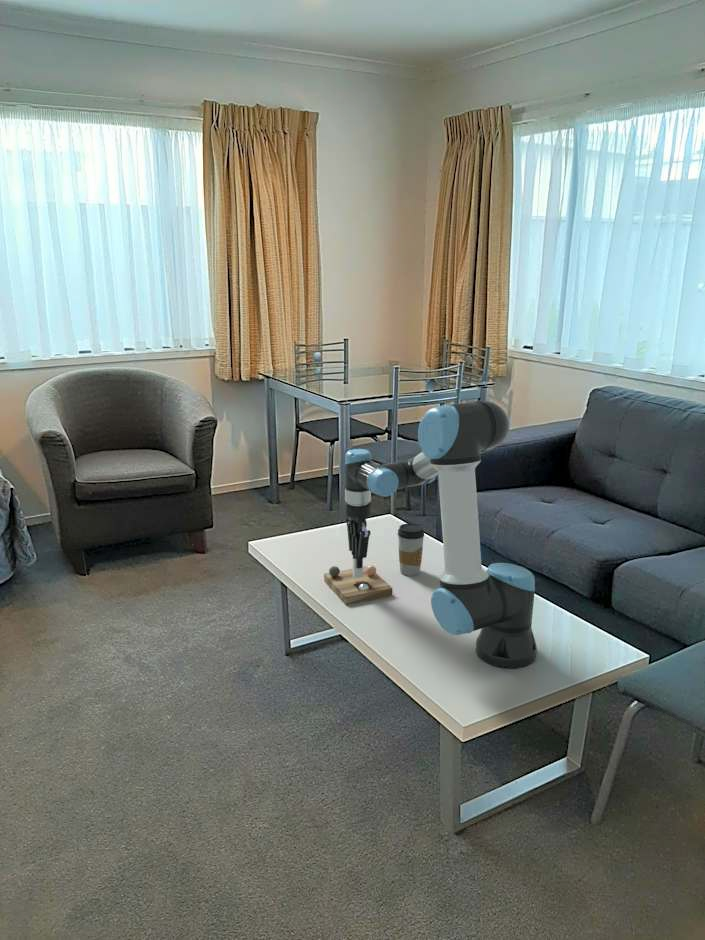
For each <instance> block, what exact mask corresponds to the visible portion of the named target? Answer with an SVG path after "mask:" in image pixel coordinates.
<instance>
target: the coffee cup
mask: <svg viewBox="0 0 705 940" xmlns="http://www.w3.org/2000/svg"><path fill="white" fill-rule="evenodd" d="M397 536H398V537H397V538H398V561H399V571H400V574H402V575H404V576H407V577H410V576H411V577H412V576H413V577H414V576H417V575H418V574H420V573H421V567H422V565H421V564H422V556H423V549H424V548H423V545H424V536H425V530H424V527H423V526H422V525H421V524H418V523H413V522H412V523H410V522H407V523H404V524H400V526H399V529H397Z"/></svg>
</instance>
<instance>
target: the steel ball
mask: <svg viewBox="0 0 705 940" xmlns="http://www.w3.org/2000/svg"><path fill="white" fill-rule="evenodd" d="M365 589H369V586H368V585H367V584H361V585H359V587H358V590H365Z"/></svg>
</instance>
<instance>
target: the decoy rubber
mask: <svg viewBox="0 0 705 940" xmlns="http://www.w3.org/2000/svg"><path fill="white" fill-rule="evenodd" d="M340 571H341V570H340V568H339V567H338V566H336V565H335V566H331V567H330V568H329V569H328V573H330V575H331V576H333V577H336V576H338V575H339V573H340Z"/></svg>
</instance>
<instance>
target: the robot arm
mask: <svg viewBox="0 0 705 940" xmlns="http://www.w3.org/2000/svg"><path fill="white" fill-rule="evenodd" d="M417 430H418V431H417V441H418V445H419V448H420V449H421V452H420V453H418V454H417V455H415V456H413V457H412V458H410V459H407V460H402V461H396V462H390V463H383V464H377V463H375V462H373V458H372V453H371V451H370V450H368V449H363V448H354V449H350V450H348V451H346V453H345V463H344V482H345V483H344V486H345V487H344V501H345V504H344V514H345V516H347V517H348V518H346V519H345V522H346V527H347V538H348V539H347V540H348V541H347V542H348V549H349V551H350V552H351V556H352V569H353V577H354V578H359V577H363V567H364V559H366V558H367V555H368V550H369V549H368V547H369V539H370V536H371V530H370V529H369V530H368V529H367V525H368V524H367V518H368V517H370V516H371V514H372V504H371V501H372V497H371V496H372V494H375V495H377V496H380V497H385V498H386V497H390V496H392V495H393V494H394V493H395V492H397V490H401V489H405V488H410V487H416V486H425V485H426V484H430V483H433V482H434V481H435V480H436V477H438V478H437V479H438V490H439V491H438V492H439V506H440V518H441V529H442V530H441V532H442V542H443V556H444V557H443V558H444V559H443V560H444V571H442V573H440V575H439V587H437V588H436V589H435V590H433V593H432V594H431V597H430V606H431V610H432V613H433V615H434V618H435V619H436V622H437V623H438V624H439V626H440V627H441V628H442V629H443V630H444V631H446V633H448V634H451V635H452V636H453V635H454V636H461V635H465V634H471V633H473V632H476V631H478V630H480V632H479V634H478V636H477V638H476V641H475V653H476V655H477V656H478V658H479V659H481V660H482V661H483V660H484V662H485V663H487V664H489V663H490V664H489V665H492V664H493V665H492V666H494V665H496V666H495V667H498V666H500V667H499V668H504V667H507V668H506V669H517V668H516V667H520V668H524V667H526V666H529V664H530V665H531V664H533V663H534V662H535V661H536V658H537V653H538V652H537V651H538V650H537V649H538V647H537V643H536V639H535V635H534V632H533V628H532V624H533V613H534V612H533V611H534V600H535V591H536V588H535V583H536V582H535V581H536V579H535V578H536V577H535V575H534V573H533V572H531V571H530V570H528V569H527V568H525V567H523V566H520V565H517V564H512V563H509V562H508V563H506V562H496V563H495V562H494V563H491V564H489V565H488V567H487V570H485V569H483V567H482V553H481V541H480V540H481V539H480V538H481V537H480V524H479V523H480V522H479V511H478V509H479V508H478V507H479V506H478V496H477V494H478V493H477V480H476V467H477V466H478V465H479V464H480V463H481V461H482V457H481V456H482V455H481V454H482V453H483V454H484V453H487V452H488V451H490V450H492V449H494V448H496V447H498V446H500V445H501V444H503V442H505V440H506V438H507V437H508V434H509V430H510V421H509V417H508V415H507V412H506V411H505V410H504V408H502V407H501V406H499V405H498V404H497V403H495V402H493V401H489V400H478V401H477V400H476V401H469V402H462V403H461V402H460V403H455V404H454V403H452V404H443V405H439V406H436V407H431V408H430V409H429V410H427V411H426V412H425V413H424V416H422V418H421V419H420V421H419V426H418V429H417ZM532 662H533V663H532Z"/></svg>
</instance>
